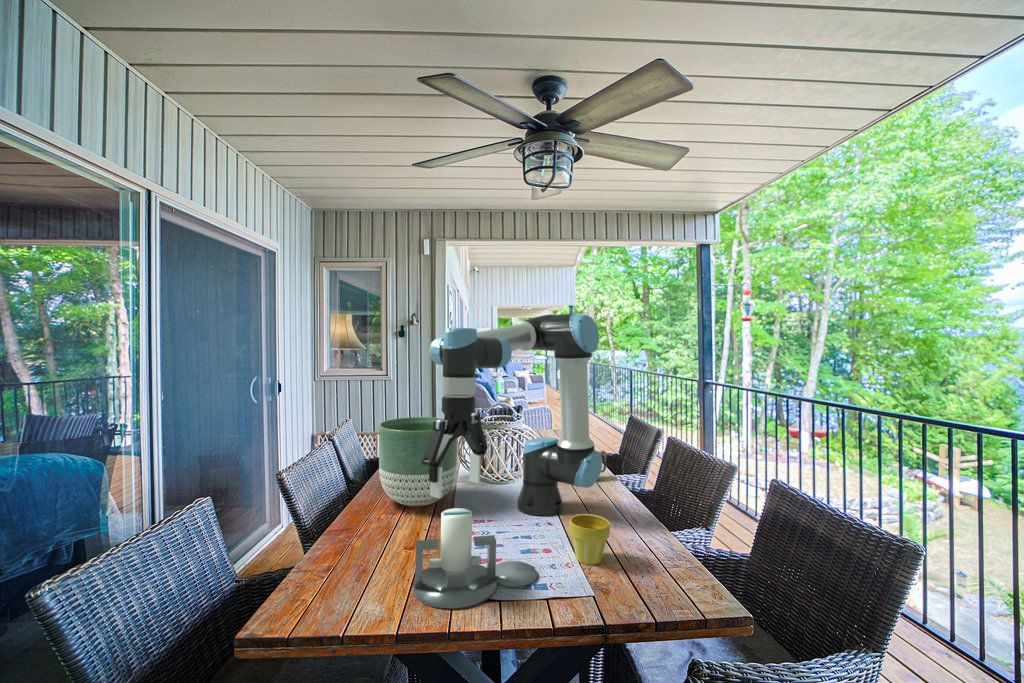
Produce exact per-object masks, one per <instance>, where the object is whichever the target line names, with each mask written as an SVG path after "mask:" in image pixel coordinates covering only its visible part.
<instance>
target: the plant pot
mask: <svg viewBox="0 0 1024 683" xmlns="http://www.w3.org/2000/svg"><path fill="white" fill-rule="evenodd" d="M568 522H569V524H568V526H569V527H568V528H569V529H568V530H569V534H570V535H571V538H572V544H573V550H574V556H575V559H576V561H577V562H579V563H581V564H585V565H591V566H592V565H597V564H600V562H602V559H603V555H604V550H605V547H606V543H607V540H608V539H609V538H610V533H611V523H610V521H609V520H608V519H607V518H605V517H603V516H599V515H597V514H591V513H580V514H575V515H572V516H571V517H570V518H569V521H568Z"/></svg>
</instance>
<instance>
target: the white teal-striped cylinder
mask: <svg viewBox="0 0 1024 683" xmlns="http://www.w3.org/2000/svg"><path fill="white" fill-rule="evenodd" d="M472 530H473V512H472V511H471V510H469V509H466V508H462V507H461V508H460V507H459V508H458V507H454V508H448V509H445V510H443V511H441V513H440V551H439V552H440V556H439V558H430V559H429V567H430V568H439V567H441V568H442V569H444V570H446V571H450V572H459V571H464V570H466V569H468V568H469V567H470V566H471V565H475V564H479V565H482V556H481V554H479V555H478V554H477V555H472V543H473V541H472V539H473V537H472V536H473V535H472V534H473V533H472V532H473V531H472Z"/></svg>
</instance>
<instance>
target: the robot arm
mask: <svg viewBox="0 0 1024 683" xmlns="http://www.w3.org/2000/svg"><path fill="white" fill-rule="evenodd" d="M599 343H600V333H599V328H598V326H597V323H596V321H595V320H594V319H593V318H592V316H590V315H588V314H585V313H584V314H582V313H565V314H544V315H539V316H535V317H530V318H528V319H523V320H519V321H517V322H516V323H514V324H513V325H509V326H504V327H498V328H493V329H488V330H487V329H486V330H482V331H477V330H476V328H473V327H448V328H446V329H445V330H444V332H443V336H440V337H436V338H435V339H434V340H433V341H431V343H430V345H429V346H430V347H429V356H430V359H431V360H432V362H433V363H435V364H436V365H439V366H442V394H443V396H442V397H441V413H442V414H443V415H444V417H443V418H444V420H437V419H435V420H434V423H433V431H432V434H431V437H430V439H429V442H428V445H427V448H426V451H425V454H424V457H423V460H422V464H423V465H426V466H429V482H430V496H432V497H436V498H441V499H442V498H443V497H442V467H440V464H441V462H442V460H443V458H444V456H445V454H446V452H447V450H448V448H449V446H450V444H451V443H452V441H454V440H455V438H458V439H459V438H460V437H463V439H464V441H465V442H466V443H467V446H468V447H469V449H470V450H471V452H472V453H470V454H469V473H468V474H469V475H468V476H469V477H468V478H469V479H468V481H469V482H472V483H477V484H479V483H481V467H482V455H483V456H484V455H486V452H487V450H488V444H487V441H486V437H485V434H484V430H483V427H482V423H481V414H480V413H474V412H476V411H475V409H476V397H475V396H474V395H475V394H476V386H477V385H476V384H477V383H476V373H477V372H476V371H477V369H494V370H497V369H500V368H504V367H506V366H507V365H508V364H509V363H510V361H511V359H512V354H513V353H512V352H513V351H517V350H520V351H522V352H526V351H532V350H535V351H546V352H547V351H548V352H554V356H553V357H554V359H555V360H556V361H557V362H558V364H559V386H560V387H559V391H560V414H561V415H560V417H561V418H560V420H561V438H560V439H558V438H556V437H538V438H531V439H528V440H526V441H525V442H524V444H523V452H522V456H523V459H522V460H523V462H522V467H523V468H522V469H523V470H522V477H523V478H522V486H521V489H520V492H519V495H518V498H517V505H516V506H517V507H518V508H517V509H518V510H519V511H520V512H521V511H522V513H523V512H524V514H526V513H527V515H530V514H532V515H531V516H537V515H541V516H542V517H543V515H544V516H545V517H546V516H547V515H548V516H553V515H557V514H559V513H561V512H562V511H563V498H562V496H561V493H560V489H559V486H558V483H563V484H566V485H570V486H574V487H575V488H576V487H577V488H585V489H586V488H591V487H592V486H594V485H595V484H596V483H597V482H598V480H599V477H600V476H601V473H600V472H601V471H602V470H603V469H602V467H603V456H602V453H601V454H600V451H598V450H596V451H595V449H596V448H595V442H594V440H593V439H591V437H590V419H589V418H590V417H589V415H590V414H589V412H590V411H589V383H588V382H589V379H588V378H589V377H588V376H589V375H588V362H589V361H590V360H591V359H592V357H593V353H594V352H595V351H596V350H598V347H599ZM447 433H448V435H447ZM428 459H429V460H428ZM435 460H436V462H435ZM597 479H598V480H597Z"/></svg>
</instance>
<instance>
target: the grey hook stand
mask: <svg viewBox="0 0 1024 683" xmlns="http://www.w3.org/2000/svg"><path fill="white" fill-rule="evenodd" d="M472 539H473V541H472V543H473V545H474V547H480V546H481V547H482V546H484V547H485V546H487V550H486V551H487V553H486V557H487V558H486V560H487V562H486V564H487V565H486V566H487V567H486V566H484V565H482V564H475V565H471V566H470V567H469V568H468V569H466V570H464V571H459V572H450V571H446V570H444V569H442V568H441V567H439V568H430V566H429V567H428V568H426V569H424V570H423V558H424V557H423V555H424V554H423V553H424V552H423V551H430V550H439V540H438V538H436V539H435V538H434V539H421V540H415V566H414V568H415V572H414V574H415V575H414V576H415V577H414V580H413V584H412V593H413V595H414V597H415V598H416V599H417V600H418V601H419V602H421V603H422V604H424V605H426V606H428V607H430V608H434V609H440V610H463V609H468V608H472V607H475V606H478V605H481V604H483V603H485V602H487V601H488V600H489V599H490V598H492V596H494V594H495V592H496V591H497V588H498V584H497V580H496V579H495V575H496V565H497V538H496V537H495V535H493V534H492V535H478V536H473V537H472Z"/></svg>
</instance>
